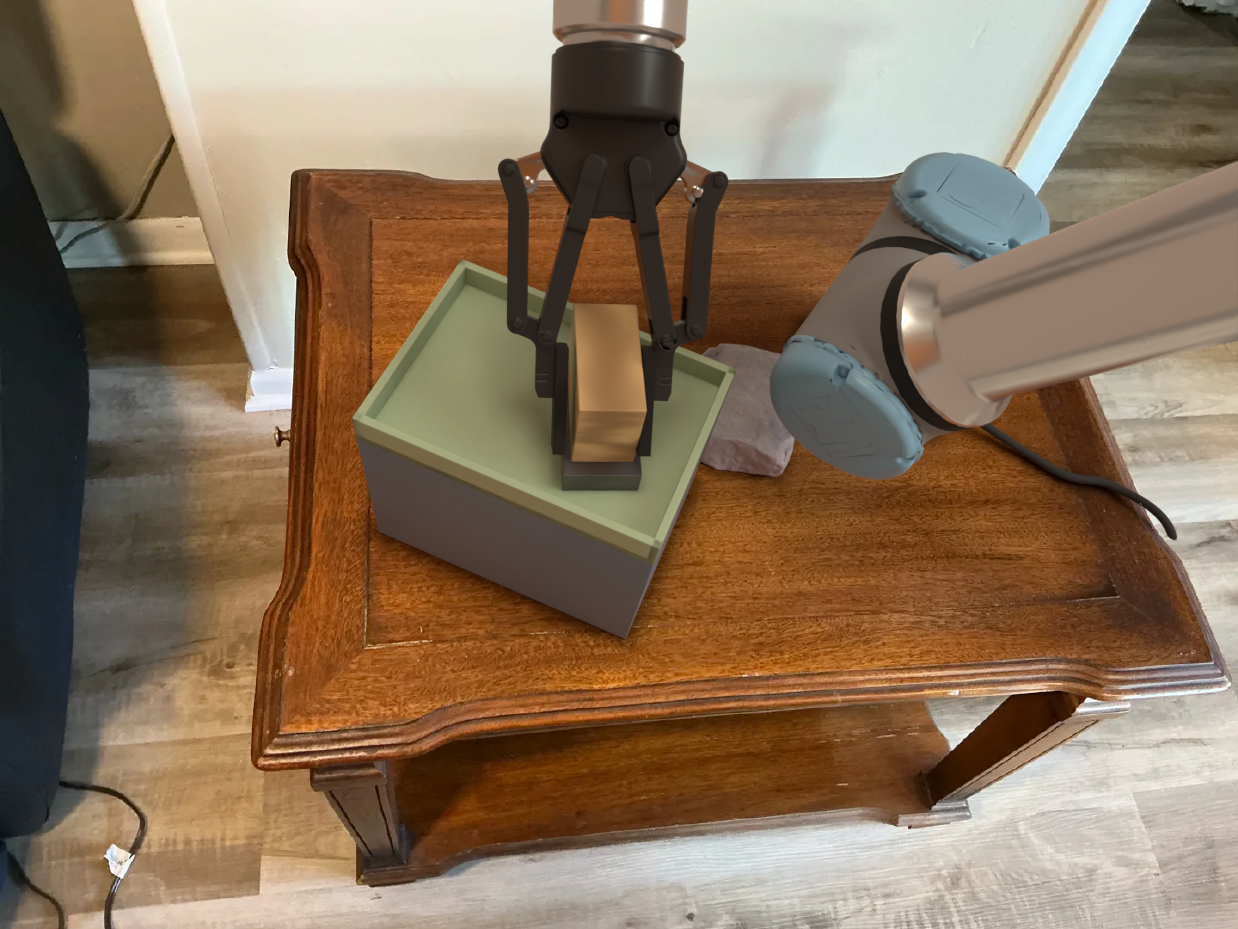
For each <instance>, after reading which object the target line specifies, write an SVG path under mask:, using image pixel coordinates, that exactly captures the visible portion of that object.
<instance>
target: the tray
mask: <svg viewBox="0 0 1238 929" xmlns="http://www.w3.org/2000/svg"><path fill="white" fill-rule="evenodd" d="M545 294H546V291H542V290H540V289H538V288H536V287H532V286H530V285H528V311H527V314H528V315H531V316H533V317H536V318H538V319H539V316H540V312H541V309H542V305H543V301H544V297H545ZM574 304H575V303H573V302H570V301H568V300H567V304H566V308H565V311H564V315H563V319H562V322H561V326H560V330H559V333H558V337H557V342H561V343H567V345H568V346H569V338H570V329H571V321H572V313H573V305H574ZM639 334H640V344H641V345H646V346H651V342H652V339H651V336H650V334H649V333H647V332H645V331H642V330H640V329H639ZM535 353H536V347H535V344H534V343H533V342H532V341H531V340H530V339H528V338H526V337H523V336H521V335H518V334H513V333H512V332H510V331H509V329H508V328H507V276H506V275H503V274H501V273H498V272H495V271H493V270H490V269H488V268H485V267H484V266H480V265H478V264H476V263H473V262H471V261H469V260H465V259H463V258H461V260H459V262H458V264H457V265H456V266H455V268H454V270H453V271H452V272H451V274H450V276H449V277H448V278H447V280H446V281H445V282H444V284H443V286H442V287H441V288H440V290H439V291H438V292H437V293H436V295H435V297H434V299H433V300H432V301H431V303H430V304H429V306H427V308H426V310H425V311H424V313H423V314H422V315H421V317H420V319H419V320H418V321H417V323H416V324H415V326H414V328H412V330H411V331H410V333H409V335H408V336H407V338H406V339H405V340H404V342H403V344H402V345H401V346H400V348H399V349H398V351H397V352H396V353H395V355H394V356H393V358H392V359H391V361H390V362H389V363H388V365H387V366H386V368H385V370H384V371H383V372H382V374H381V375H380V377H379V378H378V380H377V381H376V383H375V384H374V385H373V387H372V388H371V389H370V391H369V393H368V394H367V396H366V397H365V399H364V400H363V401H362V402H361V404H360V406H359V407H358V408H357V410H356V412H355V413H354V414H353V416H352V418H351V421H352V425H353V430H354V433H355V437H356V441H357V440H360V441H362V442H364V443H367V444H369V445H371V446H374V447H376V448H378V449H381V450H383V451H385V452H388V453H390V454H392V455H395V456H397V457H399V458H402V459H404V460H406V461H409V462H411V463H414V464H416V465H418V466H421V467H423V468H425V469H428V470H430V471H432V472H435V473H437V474H439V475H442V476H444V477H446V478H449V479H451V480H453V481H456V482H458V483H460V484H463V485H465V486H467V487H470V488H472V489H474V490H477V491H479V492H481V493H484V494H486V495H488V496H491V497H493V498H495V499H498V500H500V501H502V502H505V503H507V504H510V505H512V506H514V507H517V508H519V509H521V510H524V511H526V512H528V513H531V514H533V515H535V516H538V517H540V518H542V519H545V520H547V521H549V522H552V523H554V524H556V525H559V526H561V527H563V528H566V529H568V530H570V531H573V532H575V533H577V534H580V535H582V536H584V537H587V538H589V539H591V540H594V541H596V542H598V543H601V544H603V545H606V546H608V547H610V548H613V549H615V550H617V551H620V552H622V553H624V554H627V555H629V556H631V557H634V558H636V559H638V560H641V561H643V562H645V563H648V564H650V565H652V566H653V565H654V563H655V561H656V559H657V556H658V554H659V552H660V549H661V547H662V545H663V542H664V540H665V538H666V535H667V533H668V531H669V528H670V526H671V524H672V521H673V519H674V517H675V514H676V512H677V510H678V507H679V505H680V503H681V500H682V498H683V496H684V493H685V491H686V489H687V486H688V484H689V482H690V479H691V477H692V475H693V472H694V470H695V468H696V465H697V463H698V461H699V458H700V456H701V454H702V451H703V449H704V447H705V444H706V442H707V440H708V437H709V435H710V433H711V430H712V428H713V426H714V423H715V421H716V419H717V416H718V414H719V412H720V409H721V407H722V405H723V402H724V400H725V398H726V395H727V393H728V391H729V388H730V386H731V383H732V381H733V378H734V375H735V373H736V369H734V368H732V367H729V366H727V365H724V364H722V363H719V362H717V361H714V360H712V359H709V358H707V357H704V356H702V354H699V353H697V352H695V351H692V350H689V349H687V348H684V347H682V346H681V345H680V346H679V347H677V349H676V350H675V352H674V360H673V375H672V390H671V395H670V397H669V399H668V401H654V410H653V427H652V443H651V457H647V456H641V468H642V478H641V482H640V485H639V489H638V490H637V491H562V479H561V455H553V453H552V447H551V424H552V398H538V395H537V393H536V390H535Z"/></svg>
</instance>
